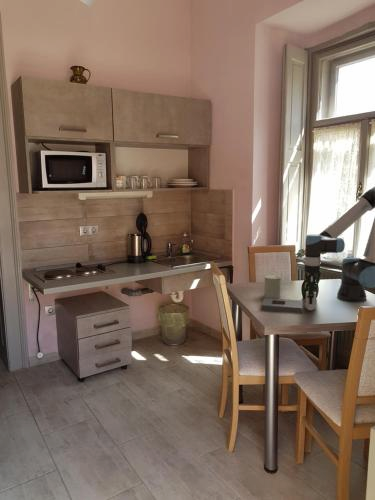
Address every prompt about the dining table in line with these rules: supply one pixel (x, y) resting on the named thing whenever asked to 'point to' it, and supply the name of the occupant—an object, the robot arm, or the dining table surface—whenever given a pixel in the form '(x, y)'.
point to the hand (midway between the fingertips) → (310, 307)
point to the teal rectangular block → (313, 301)
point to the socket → (282, 305)
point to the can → (272, 286)
